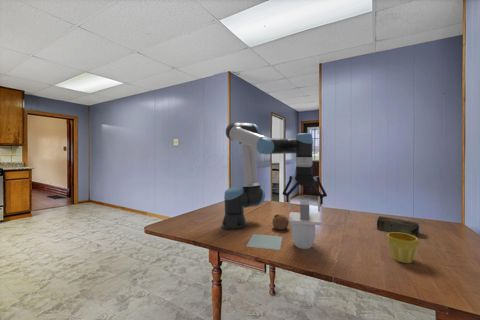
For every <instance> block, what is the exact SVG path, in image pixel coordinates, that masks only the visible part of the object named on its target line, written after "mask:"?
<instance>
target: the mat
mask: <svg viewBox="0 0 480 320" xmlns="http://www.w3.org/2000/svg"><path fill="white" fill-rule="evenodd" d="M282 242H283V236H279V235H268V234H259V233H258V234H257V233H256V234H255V233H253V234H252V235H251V236H250V239H249V240H248V242H247V243H246V247H247V248H258V249H266V250H267V249H269V250H276V251H278V250H279V251H281V246H282Z"/></svg>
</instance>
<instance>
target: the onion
mask: <svg viewBox="0 0 480 320" xmlns="http://www.w3.org/2000/svg"><path fill="white" fill-rule="evenodd" d="M289 224H290V223H289V218H288V216H287V215H285V214H278V213H277V214H274V217H273V218H272V226H273V228H274V229H275V230H278V231H284V230H286V229H288V227H289Z"/></svg>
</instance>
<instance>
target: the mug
mask: <svg viewBox="0 0 480 320" xmlns="http://www.w3.org/2000/svg"><path fill="white" fill-rule="evenodd" d="M290 225H291V226H290V229H291V230H290V231H291V232H290V233H291V238H292V241H293V244H294V245H295V247H296V248H298V249H300V250H301V249H302V250H309V249H311V247H312V246H313V244H314V241H315V237H316V225H309V224H295V223H290Z"/></svg>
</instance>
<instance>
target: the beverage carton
mask: <svg viewBox="0 0 480 320" xmlns="http://www.w3.org/2000/svg"><path fill="white" fill-rule="evenodd" d="M376 220H377V221H376V229H377V230H380V231H386V232H388V233H391V232H400V233H406V234H410V235H413V236H415V237H416V238H419V237H420V226H421V225H420V224H421V223H420V222H417V221H410V220H404V219H398V218H393V217H387V216H379V217H377V219H376Z"/></svg>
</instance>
